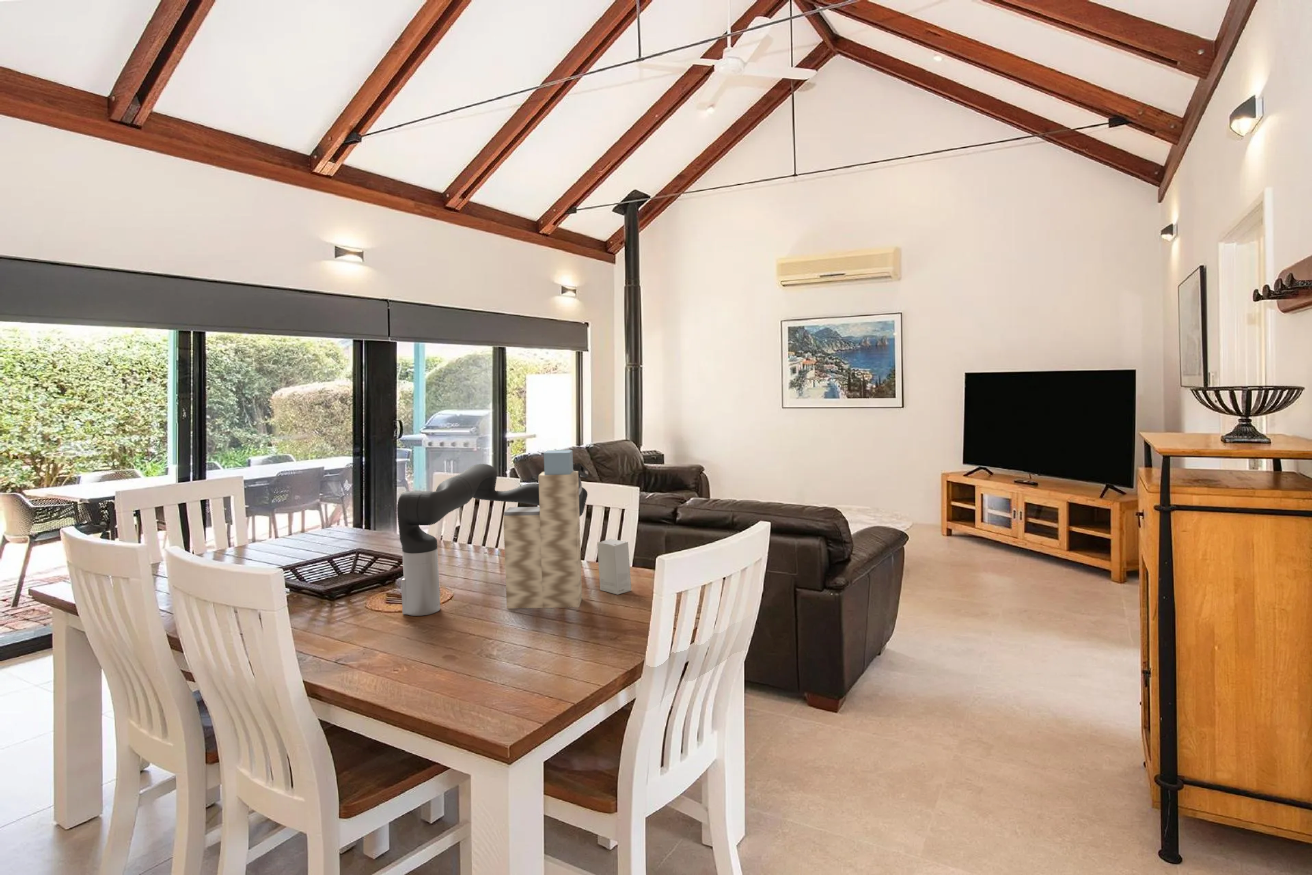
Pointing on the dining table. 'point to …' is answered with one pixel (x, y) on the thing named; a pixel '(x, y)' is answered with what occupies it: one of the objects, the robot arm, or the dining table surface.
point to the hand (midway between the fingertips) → (561, 461)
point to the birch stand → (545, 547)
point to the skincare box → (614, 566)
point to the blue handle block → (558, 462)
